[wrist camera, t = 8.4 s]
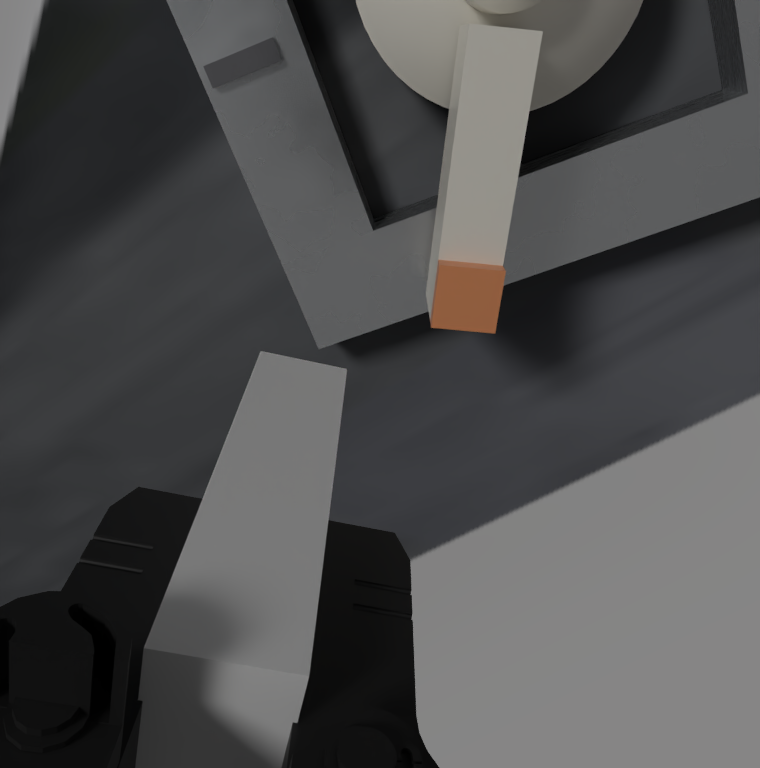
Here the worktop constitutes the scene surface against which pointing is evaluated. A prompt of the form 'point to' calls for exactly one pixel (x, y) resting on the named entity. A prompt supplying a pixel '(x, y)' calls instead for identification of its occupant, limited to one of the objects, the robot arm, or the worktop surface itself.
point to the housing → (416, 222)
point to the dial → (487, 117)
